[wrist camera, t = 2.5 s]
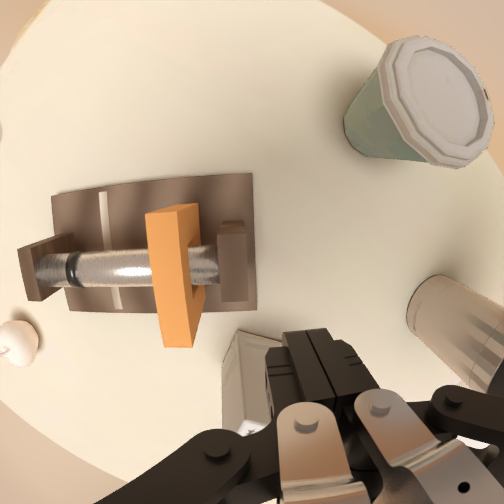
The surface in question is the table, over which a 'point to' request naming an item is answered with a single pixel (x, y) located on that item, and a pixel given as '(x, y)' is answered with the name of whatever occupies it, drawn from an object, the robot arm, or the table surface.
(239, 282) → the pipe stand
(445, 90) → the disposable coffee cup
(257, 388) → the skincare box
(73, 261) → the pipe
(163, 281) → the square ring
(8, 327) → the plain white apple
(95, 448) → the table surface
